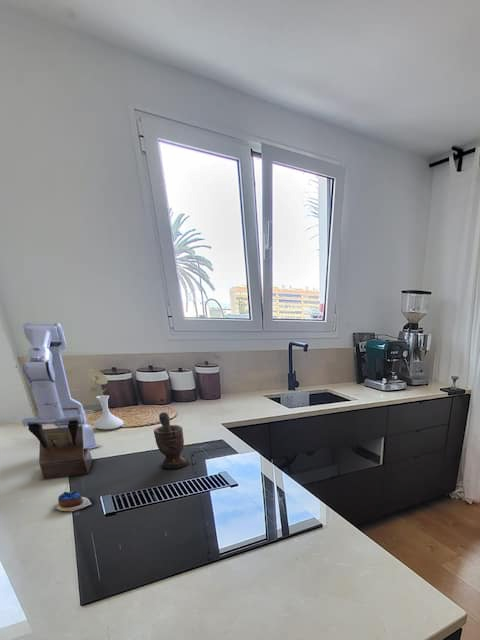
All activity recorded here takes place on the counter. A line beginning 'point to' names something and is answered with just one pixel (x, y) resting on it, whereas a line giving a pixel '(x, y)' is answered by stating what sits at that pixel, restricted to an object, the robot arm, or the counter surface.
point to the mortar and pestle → (170, 442)
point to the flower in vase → (103, 404)
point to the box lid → (61, 446)
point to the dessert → (72, 501)
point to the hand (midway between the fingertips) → (60, 445)
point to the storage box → (67, 467)
